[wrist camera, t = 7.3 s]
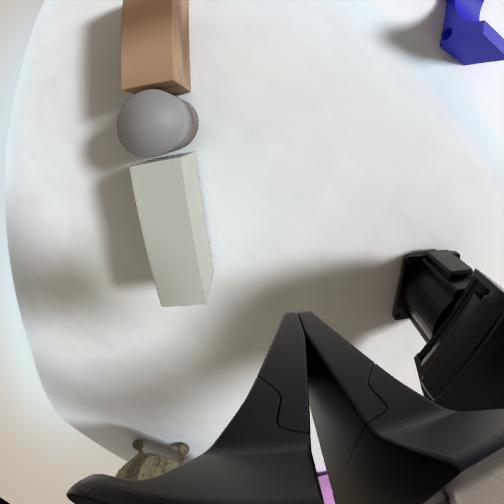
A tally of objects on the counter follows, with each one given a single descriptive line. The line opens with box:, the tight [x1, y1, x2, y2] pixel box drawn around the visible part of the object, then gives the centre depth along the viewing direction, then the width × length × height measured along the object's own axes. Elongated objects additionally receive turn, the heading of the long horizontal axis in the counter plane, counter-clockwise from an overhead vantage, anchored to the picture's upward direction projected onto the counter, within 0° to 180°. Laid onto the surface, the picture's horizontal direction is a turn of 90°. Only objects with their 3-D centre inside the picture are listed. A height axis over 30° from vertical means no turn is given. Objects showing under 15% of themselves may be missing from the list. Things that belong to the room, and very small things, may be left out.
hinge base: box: [121, 0, 198, 151], centre depth 14 cm, size 13×4×5 cm, turn 3°
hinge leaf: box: [117, 89, 214, 307], centre depth 18 cm, size 13×4×5 cm, turn 6°
